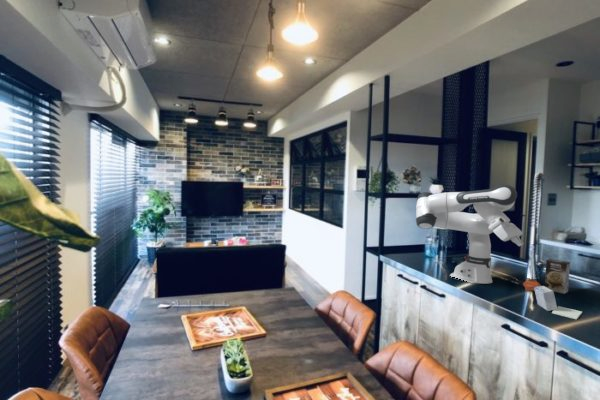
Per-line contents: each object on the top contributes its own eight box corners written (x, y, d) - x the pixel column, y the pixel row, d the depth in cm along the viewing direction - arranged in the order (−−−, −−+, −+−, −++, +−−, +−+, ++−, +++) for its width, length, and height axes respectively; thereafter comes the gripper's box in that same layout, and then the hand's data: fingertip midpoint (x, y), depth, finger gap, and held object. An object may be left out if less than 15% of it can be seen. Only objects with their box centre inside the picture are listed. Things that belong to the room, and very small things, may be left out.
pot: (545, 291, 174) (544, 280, 173) (535, 297, 171) (535, 285, 170) (529, 286, 181) (528, 275, 180) (520, 291, 178) (519, 280, 177)
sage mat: (551, 313, 146) (551, 311, 146) (558, 307, 153) (558, 306, 153) (576, 319, 140) (576, 318, 140) (582, 313, 147) (582, 311, 147)
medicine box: (557, 309, 147) (553, 290, 147) (546, 311, 148) (543, 292, 148) (547, 303, 155) (543, 285, 155) (537, 304, 156) (533, 287, 156)
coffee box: (543, 289, 179) (545, 259, 178) (548, 287, 183) (549, 258, 182) (564, 294, 172) (566, 263, 171) (568, 291, 176) (570, 261, 175)
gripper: (502, 225, 174) (522, 246, 167) (486, 228, 161) (508, 251, 154) (512, 217, 171) (533, 239, 164) (497, 220, 158) (520, 243, 151)
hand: (521, 245), depth 159 cm, fingers closed
